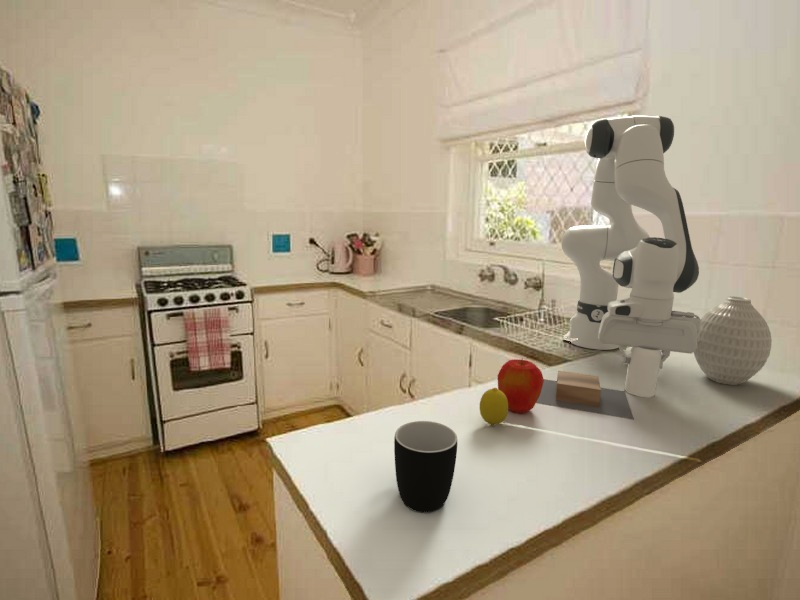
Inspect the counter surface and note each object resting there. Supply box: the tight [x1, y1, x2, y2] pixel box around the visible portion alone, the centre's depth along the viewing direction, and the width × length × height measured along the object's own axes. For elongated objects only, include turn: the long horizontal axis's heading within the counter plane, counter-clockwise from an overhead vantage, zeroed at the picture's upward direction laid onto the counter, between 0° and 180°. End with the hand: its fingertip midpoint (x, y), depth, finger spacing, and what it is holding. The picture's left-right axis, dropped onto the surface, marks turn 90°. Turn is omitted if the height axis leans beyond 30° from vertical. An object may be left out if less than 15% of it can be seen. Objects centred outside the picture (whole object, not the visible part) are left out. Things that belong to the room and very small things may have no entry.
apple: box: [497, 357, 545, 414], centre depth 92 cm, size 9×9×12 cm
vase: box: [693, 295, 773, 386], centre depth 113 cm, size 16×16×22 cm
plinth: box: [556, 370, 602, 407], centre depth 101 cm, size 9×9×4 cm
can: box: [624, 346, 662, 398], centre depth 104 cm, size 6×6×12 cm
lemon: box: [479, 387, 509, 427], centre depth 86 cm, size 6×6×8 cm
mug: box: [393, 420, 458, 513], centre depth 64 cm, size 12×9×10 cm
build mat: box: [536, 378, 635, 420], centre depth 101 cm, size 16×22×1 cm
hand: (641, 365), depth 104 cm, fingers closed on can, 5 cm apart
